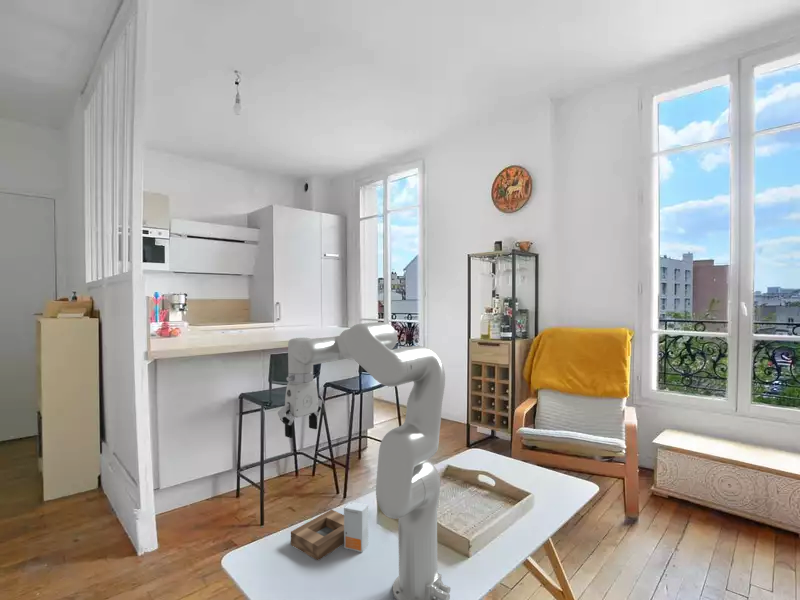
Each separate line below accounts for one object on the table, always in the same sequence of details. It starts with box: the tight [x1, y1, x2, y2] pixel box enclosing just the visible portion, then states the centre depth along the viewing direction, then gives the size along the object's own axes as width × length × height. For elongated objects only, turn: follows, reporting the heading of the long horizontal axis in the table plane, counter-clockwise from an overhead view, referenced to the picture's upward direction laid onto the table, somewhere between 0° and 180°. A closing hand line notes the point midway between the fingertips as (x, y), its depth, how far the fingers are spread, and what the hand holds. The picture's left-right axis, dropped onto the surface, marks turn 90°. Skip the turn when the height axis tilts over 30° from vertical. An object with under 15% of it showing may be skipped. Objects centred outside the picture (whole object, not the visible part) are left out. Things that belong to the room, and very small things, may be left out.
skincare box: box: [343, 501, 369, 553], centre depth 121 cm, size 6×4×12 cm
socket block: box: [290, 509, 344, 561], centre depth 125 cm, size 12×16×4 cm
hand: (301, 432), depth 130 cm, fingers open, 9 cm apart
